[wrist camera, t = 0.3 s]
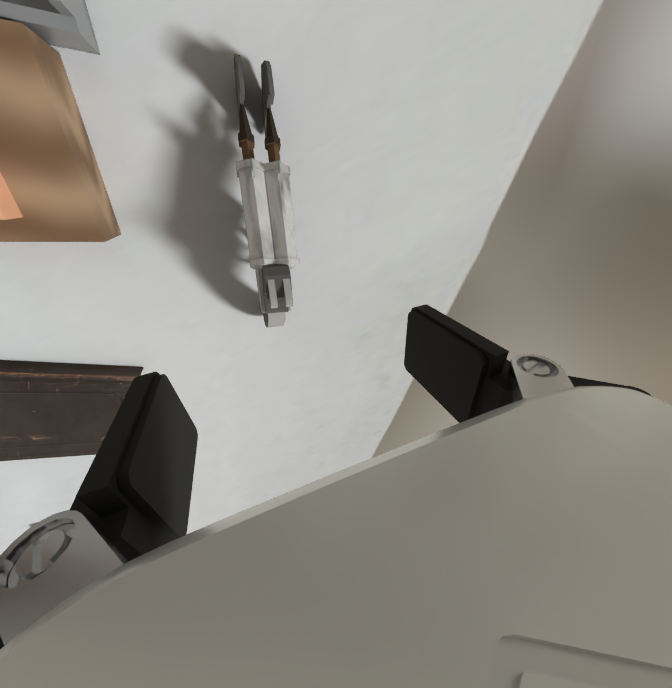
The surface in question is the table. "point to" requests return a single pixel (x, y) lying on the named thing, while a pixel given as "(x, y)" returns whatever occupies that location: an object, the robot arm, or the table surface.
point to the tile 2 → (7, 202)
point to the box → (54, 21)
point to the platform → (46, 148)
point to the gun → (266, 206)
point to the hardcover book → (58, 407)
